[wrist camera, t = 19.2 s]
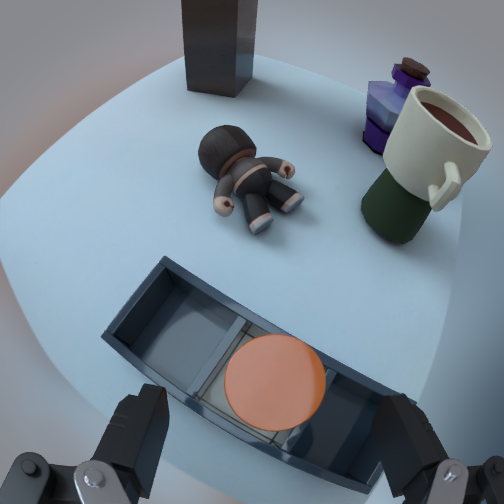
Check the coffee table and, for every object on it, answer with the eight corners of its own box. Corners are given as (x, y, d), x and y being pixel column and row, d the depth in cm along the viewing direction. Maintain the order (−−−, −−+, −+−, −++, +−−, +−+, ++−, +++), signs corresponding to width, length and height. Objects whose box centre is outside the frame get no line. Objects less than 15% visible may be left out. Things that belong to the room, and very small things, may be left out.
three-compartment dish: (343, 479, 15) (368, 494, 11) (124, 349, 19) (100, 336, 15) (386, 404, 18) (417, 401, 14) (176, 281, 22) (164, 254, 18)
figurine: (305, 205, 28) (242, 135, 29) (325, 177, 23) (250, 101, 24) (236, 252, 25) (173, 170, 26) (245, 229, 20) (170, 136, 22)
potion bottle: (396, 126, 34) (427, 57, 23) (422, 171, 30) (467, 96, 19) (341, 118, 33) (365, 38, 23) (362, 164, 29) (402, 73, 18)
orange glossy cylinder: (255, 429, 16) (269, 451, 9) (215, 383, 17) (202, 374, 10) (302, 390, 17) (346, 384, 10) (263, 347, 19) (281, 313, 12)
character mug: (418, 278, 23) (513, 188, 11) (348, 255, 24) (423, 137, 12) (415, 191, 28) (471, 101, 17) (358, 169, 29) (401, 65, 17)
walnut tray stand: (239, 114, 32) (246, -30, 16) (161, 101, 33) (146, -25, 17) (271, 71, 38) (283, -33, 23) (207, 61, 40) (206, -36, 24)
